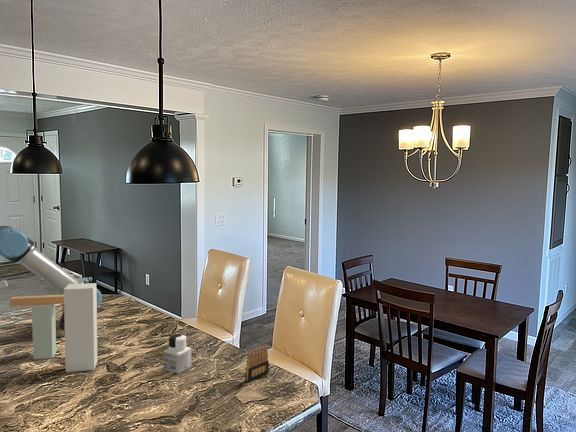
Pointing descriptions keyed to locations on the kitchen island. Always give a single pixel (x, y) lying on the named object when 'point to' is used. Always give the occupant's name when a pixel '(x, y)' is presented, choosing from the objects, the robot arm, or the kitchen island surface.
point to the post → (80, 327)
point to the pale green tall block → (43, 331)
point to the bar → (36, 300)
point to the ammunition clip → (257, 363)
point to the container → (177, 354)
